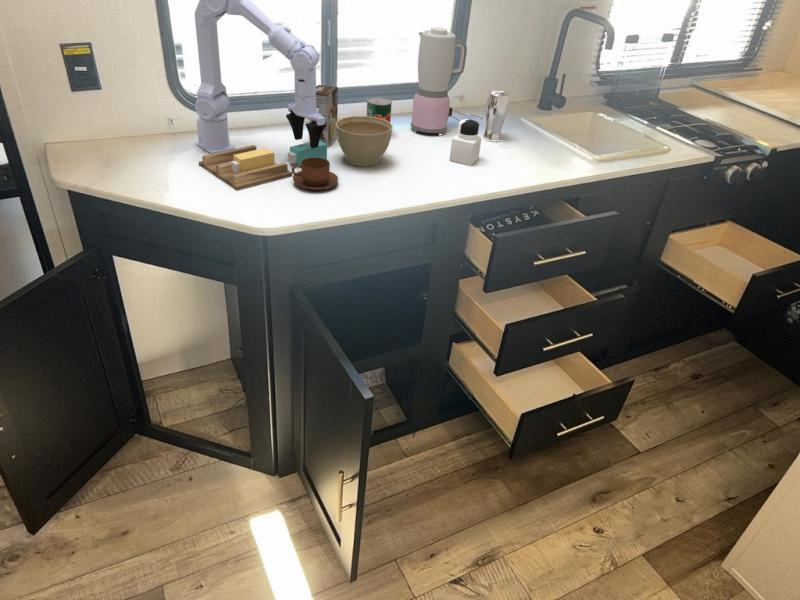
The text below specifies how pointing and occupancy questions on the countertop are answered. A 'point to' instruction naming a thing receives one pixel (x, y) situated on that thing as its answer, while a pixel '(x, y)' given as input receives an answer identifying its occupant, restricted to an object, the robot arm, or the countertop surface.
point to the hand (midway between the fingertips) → (306, 143)
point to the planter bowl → (363, 139)
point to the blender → (435, 79)
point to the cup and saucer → (314, 174)
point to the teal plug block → (306, 152)
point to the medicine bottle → (466, 143)
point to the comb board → (223, 170)
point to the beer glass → (495, 114)
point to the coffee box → (328, 111)
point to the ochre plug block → (252, 160)
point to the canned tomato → (379, 108)
